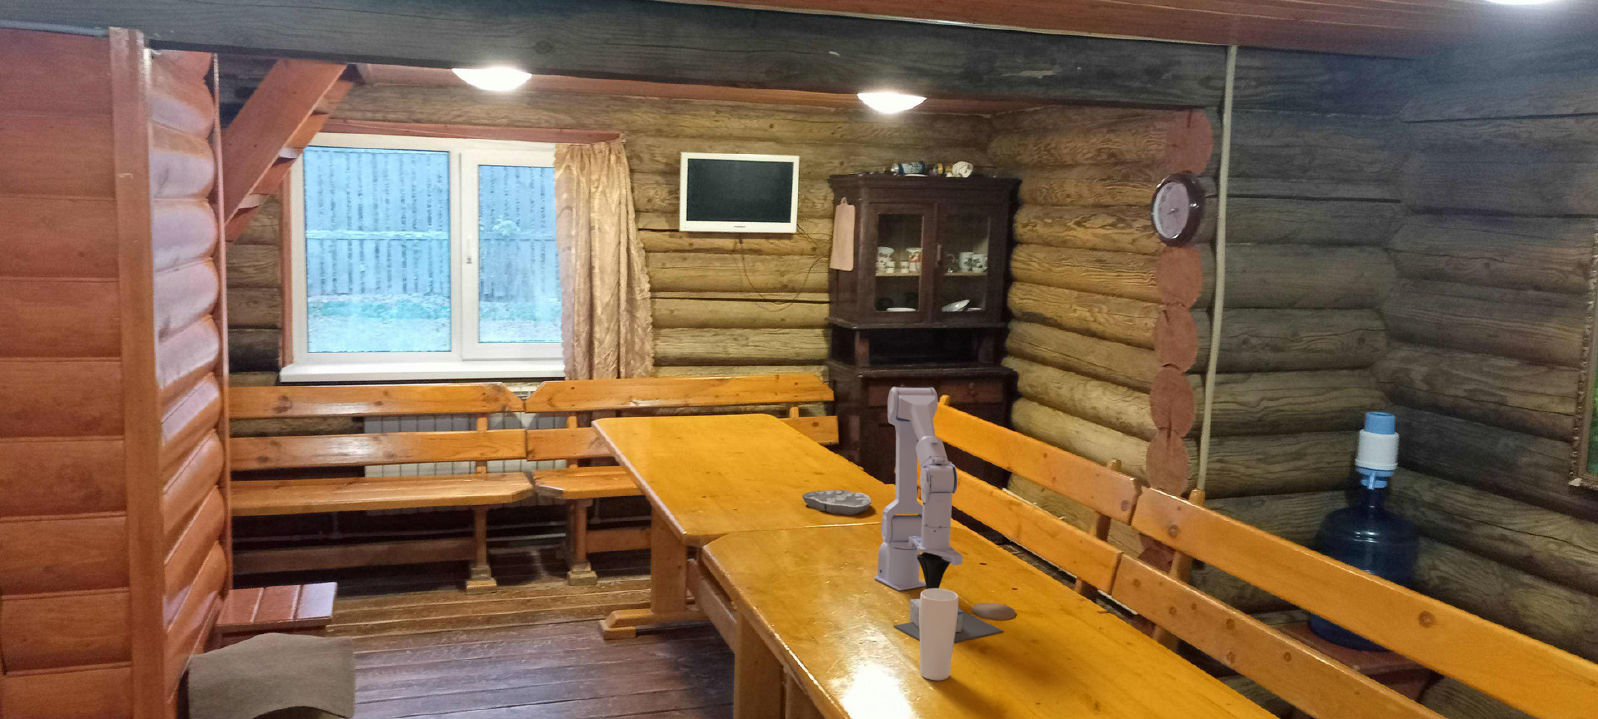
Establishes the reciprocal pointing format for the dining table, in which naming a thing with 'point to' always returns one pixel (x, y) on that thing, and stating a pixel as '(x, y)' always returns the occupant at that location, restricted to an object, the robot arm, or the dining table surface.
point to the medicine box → (915, 614)
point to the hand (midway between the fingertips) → (932, 589)
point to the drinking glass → (937, 632)
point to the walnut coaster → (993, 611)
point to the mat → (970, 630)
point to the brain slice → (838, 501)
